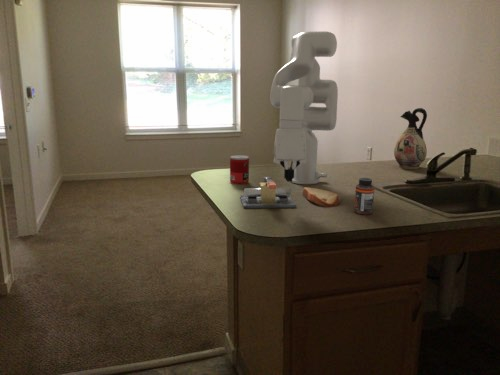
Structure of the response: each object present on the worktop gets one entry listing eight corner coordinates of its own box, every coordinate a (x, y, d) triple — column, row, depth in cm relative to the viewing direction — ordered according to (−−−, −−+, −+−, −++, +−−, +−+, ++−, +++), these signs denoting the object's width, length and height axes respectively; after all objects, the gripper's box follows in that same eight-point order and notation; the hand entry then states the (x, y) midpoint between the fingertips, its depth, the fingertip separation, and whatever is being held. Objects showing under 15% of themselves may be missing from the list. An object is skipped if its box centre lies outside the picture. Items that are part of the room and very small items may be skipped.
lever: (262, 180, 157) (262, 176, 157) (271, 180, 157) (271, 176, 157) (267, 189, 144) (268, 185, 144) (277, 189, 145) (277, 185, 144)
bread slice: (305, 191, 176) (306, 182, 175) (350, 198, 167) (350, 188, 166) (285, 201, 161) (285, 191, 160) (332, 209, 152) (333, 198, 151)
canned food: (246, 184, 183) (247, 158, 181) (227, 183, 185) (228, 157, 182) (250, 181, 190) (250, 155, 188) (232, 179, 192) (232, 154, 189)
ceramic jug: (388, 168, 223) (393, 107, 216) (397, 163, 235) (403, 106, 228) (423, 172, 214) (430, 109, 207) (431, 167, 226) (438, 107, 219)
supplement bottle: (351, 209, 150) (353, 177, 147) (368, 209, 150) (371, 176, 148) (357, 215, 144) (359, 181, 141) (374, 214, 145) (377, 180, 142)
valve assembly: (288, 196, 165) (288, 176, 163) (296, 207, 152) (297, 185, 150) (239, 197, 163) (240, 177, 161) (243, 208, 150) (243, 186, 148)
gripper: (310, 124, 148) (308, 178, 152) (266, 124, 146) (265, 178, 150) (316, 126, 141) (313, 183, 145) (269, 125, 139) (268, 183, 143)
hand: (288, 180), depth 148 cm, fingers closed
